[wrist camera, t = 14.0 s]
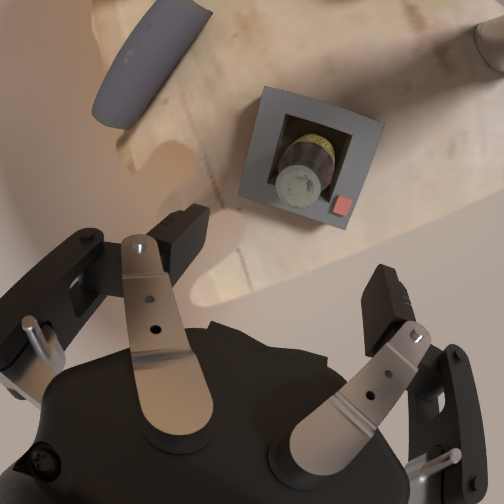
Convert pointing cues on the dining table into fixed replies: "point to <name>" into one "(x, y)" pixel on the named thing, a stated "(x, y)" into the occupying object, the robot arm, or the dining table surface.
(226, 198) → the dining table surface
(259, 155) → the bottle socket block
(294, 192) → the sauce bottle
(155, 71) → the bluetooth speaker
